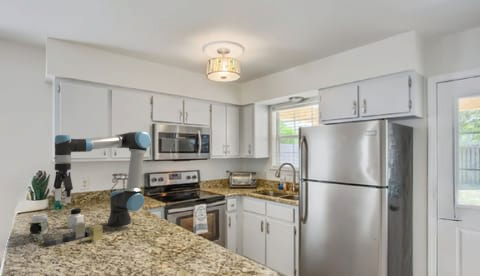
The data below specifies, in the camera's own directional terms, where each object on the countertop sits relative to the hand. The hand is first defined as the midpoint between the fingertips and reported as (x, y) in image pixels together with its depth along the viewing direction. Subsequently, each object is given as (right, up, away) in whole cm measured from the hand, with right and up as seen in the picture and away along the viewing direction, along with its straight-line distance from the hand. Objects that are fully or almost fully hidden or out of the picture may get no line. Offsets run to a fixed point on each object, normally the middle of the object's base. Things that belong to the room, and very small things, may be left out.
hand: (62, 201), depth 151 cm
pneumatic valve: (-19, -24, +9) cm, 32 cm away
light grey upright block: (+2, -24, +11) cm, 26 cm away
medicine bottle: (-15, -26, +37) cm, 47 cm away
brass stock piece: (+15, -24, +7) cm, 29 cm away
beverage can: (-27, -25, +20) cm, 42 cm away
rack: (-1, -24, +7) cm, 25 cm away
